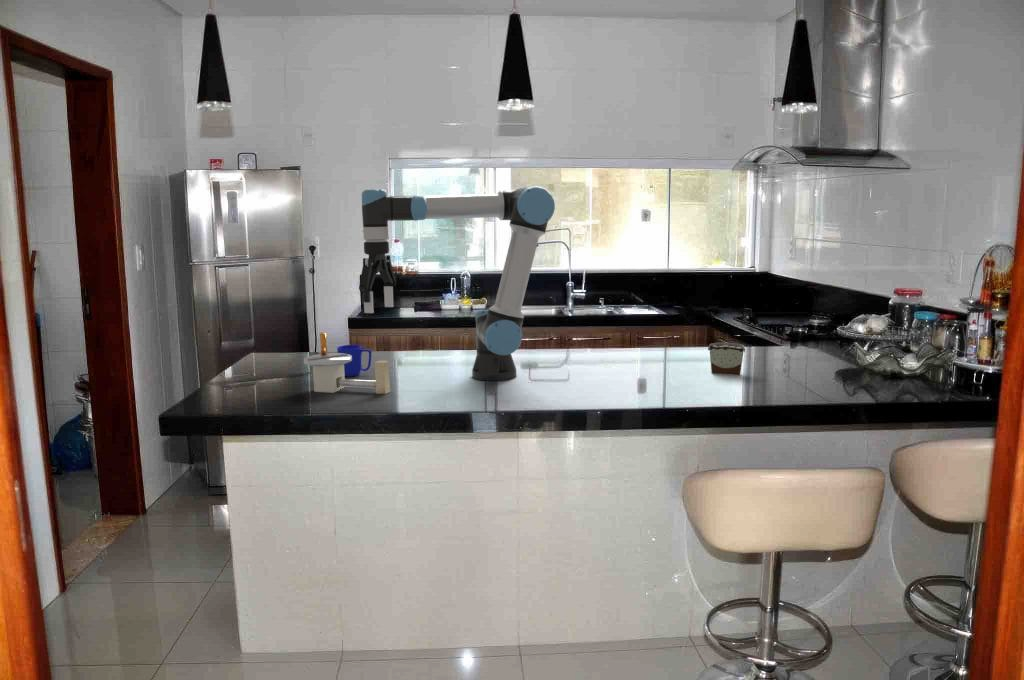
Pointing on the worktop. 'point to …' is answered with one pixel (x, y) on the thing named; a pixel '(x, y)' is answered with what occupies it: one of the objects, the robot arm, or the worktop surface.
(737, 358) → the food container
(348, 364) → the mug
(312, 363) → the handwheel
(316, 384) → the eye block
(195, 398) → the worktop surface
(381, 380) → the hook rod
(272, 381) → the worktop surface
